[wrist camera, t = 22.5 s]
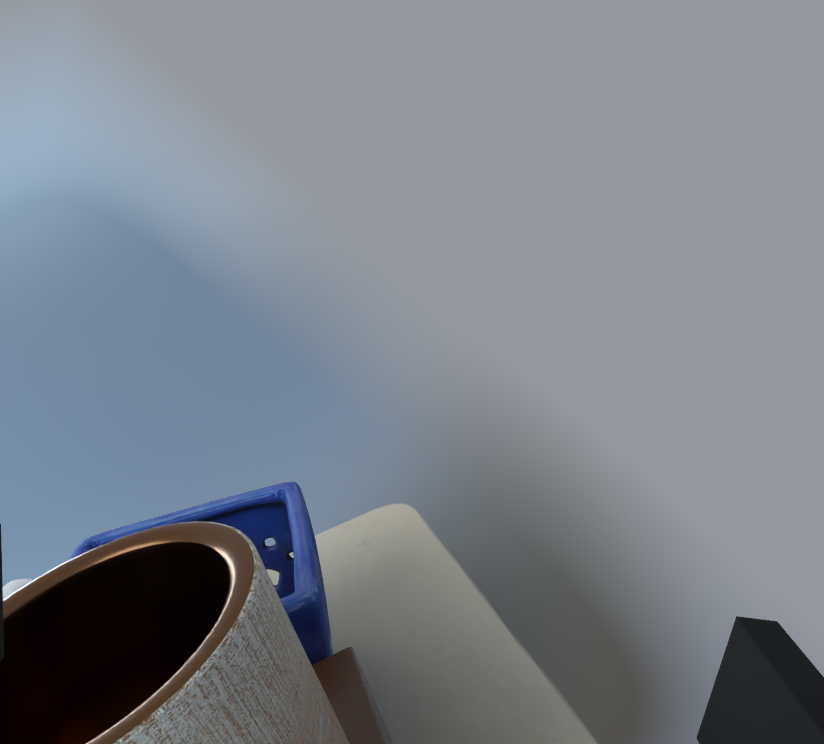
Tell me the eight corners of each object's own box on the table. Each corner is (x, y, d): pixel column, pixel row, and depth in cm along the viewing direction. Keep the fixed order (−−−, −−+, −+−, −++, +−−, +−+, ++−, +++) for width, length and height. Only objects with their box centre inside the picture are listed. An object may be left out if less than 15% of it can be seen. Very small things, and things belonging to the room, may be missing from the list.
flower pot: (136, 696, 42) (71, 534, 38) (341, 628, 44) (298, 470, 41) (96, 910, 30) (-7, 704, 26) (382, 801, 32) (326, 597, 28)
